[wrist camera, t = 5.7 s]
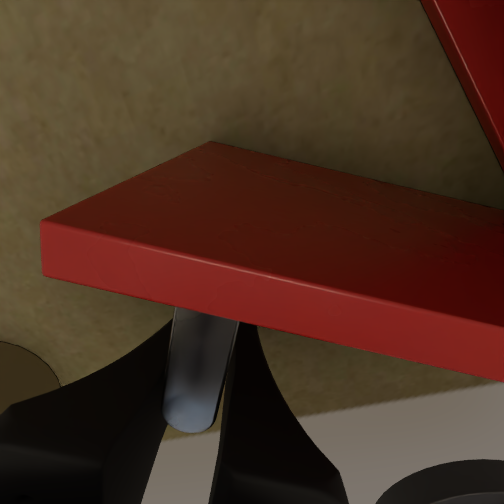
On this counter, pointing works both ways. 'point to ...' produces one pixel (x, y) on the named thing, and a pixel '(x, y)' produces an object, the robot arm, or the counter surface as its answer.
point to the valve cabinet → (476, 57)
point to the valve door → (287, 265)
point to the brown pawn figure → (22, 376)
